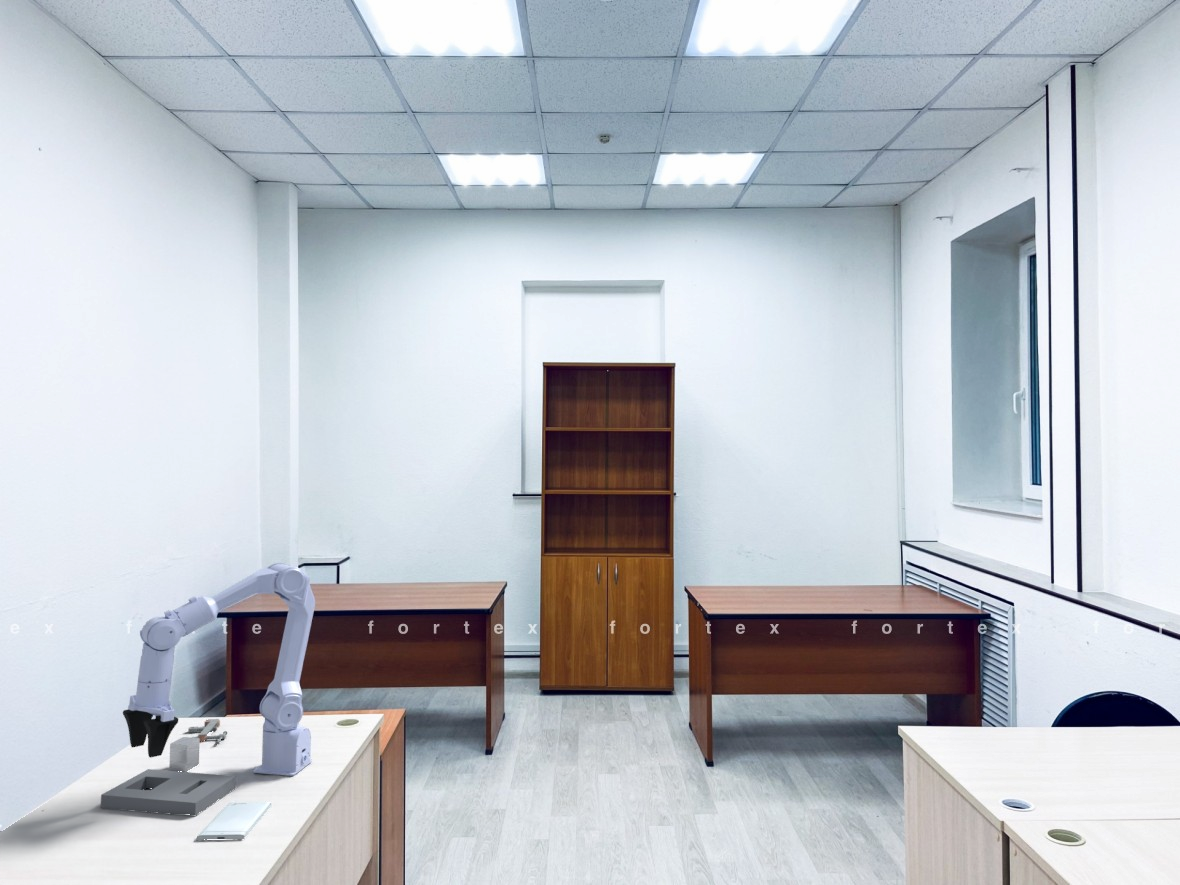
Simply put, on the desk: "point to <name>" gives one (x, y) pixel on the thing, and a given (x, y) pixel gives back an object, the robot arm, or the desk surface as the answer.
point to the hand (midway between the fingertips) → (146, 750)
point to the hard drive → (235, 820)
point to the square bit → (184, 754)
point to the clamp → (208, 730)
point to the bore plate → (169, 792)
